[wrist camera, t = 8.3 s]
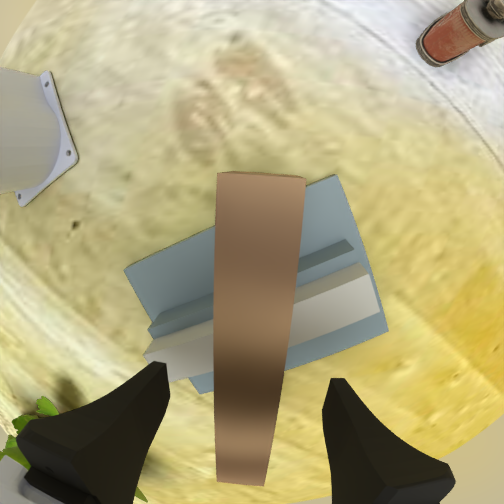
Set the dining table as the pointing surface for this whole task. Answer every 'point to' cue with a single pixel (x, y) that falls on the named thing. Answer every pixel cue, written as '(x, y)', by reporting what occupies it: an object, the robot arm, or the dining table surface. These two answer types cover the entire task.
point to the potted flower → (21, 422)
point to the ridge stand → (305, 301)
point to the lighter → (461, 31)
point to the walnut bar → (252, 314)
